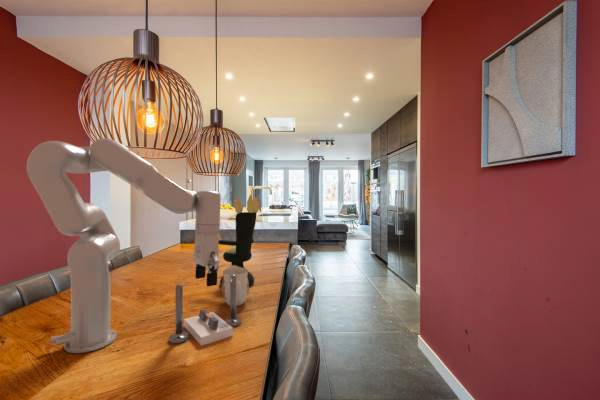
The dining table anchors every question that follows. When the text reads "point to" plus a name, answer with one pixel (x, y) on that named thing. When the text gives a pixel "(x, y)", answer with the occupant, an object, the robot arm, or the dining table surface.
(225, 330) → the panel
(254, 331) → the dining table surface
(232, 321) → the rod right
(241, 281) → the pitcher
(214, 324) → the square dumbbell
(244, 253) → the flowering cactus
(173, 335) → the rod left
